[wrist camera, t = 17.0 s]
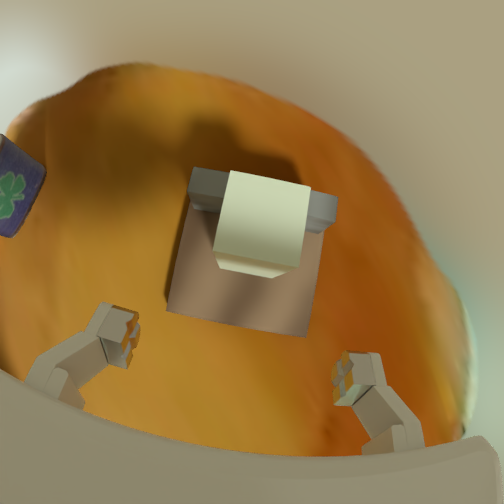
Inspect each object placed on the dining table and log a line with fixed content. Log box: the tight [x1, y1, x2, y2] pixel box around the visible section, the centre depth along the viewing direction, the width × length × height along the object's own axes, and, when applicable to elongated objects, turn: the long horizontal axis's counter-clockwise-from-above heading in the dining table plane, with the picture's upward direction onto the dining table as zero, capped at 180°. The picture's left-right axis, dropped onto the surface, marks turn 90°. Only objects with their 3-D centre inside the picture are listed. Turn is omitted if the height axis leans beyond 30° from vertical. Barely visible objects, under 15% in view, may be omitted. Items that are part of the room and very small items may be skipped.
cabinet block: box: [213, 170, 311, 278], centre depth 20 cm, size 4×4×10 cm
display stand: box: [166, 167, 338, 338], centre depth 23 cm, size 12×11×6 cm
